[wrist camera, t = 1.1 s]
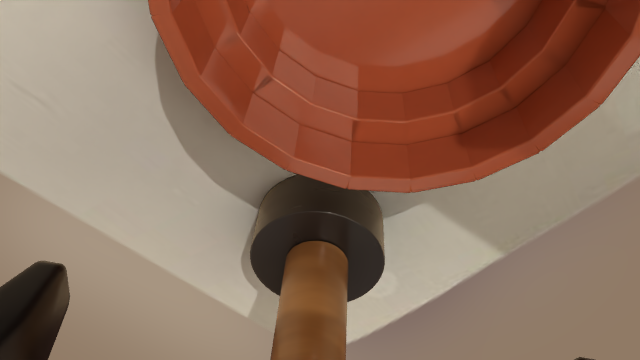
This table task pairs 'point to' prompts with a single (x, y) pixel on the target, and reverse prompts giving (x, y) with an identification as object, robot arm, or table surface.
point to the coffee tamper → (316, 262)
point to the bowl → (399, 80)
